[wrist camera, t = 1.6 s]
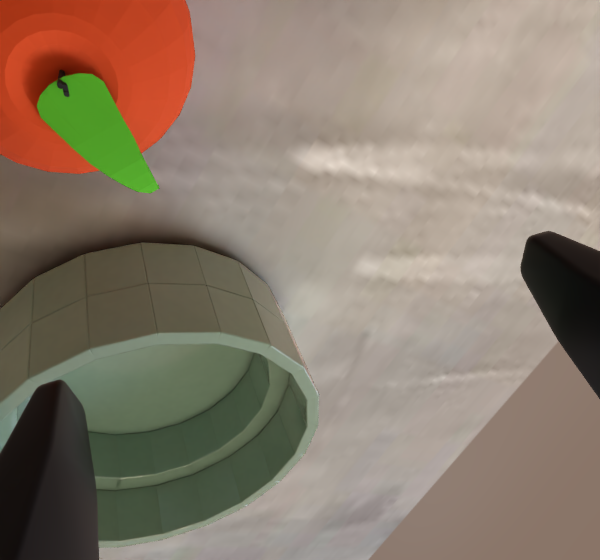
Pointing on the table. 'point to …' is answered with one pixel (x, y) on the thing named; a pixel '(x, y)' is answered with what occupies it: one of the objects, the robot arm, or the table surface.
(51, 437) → the robot arm
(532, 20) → the table surface
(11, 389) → the bowl
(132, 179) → the clementine
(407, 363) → the table surface
